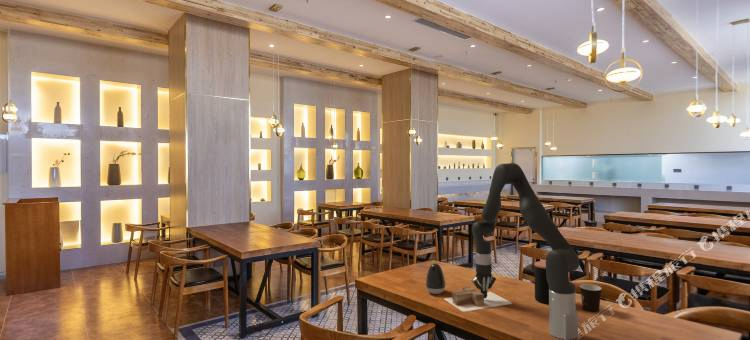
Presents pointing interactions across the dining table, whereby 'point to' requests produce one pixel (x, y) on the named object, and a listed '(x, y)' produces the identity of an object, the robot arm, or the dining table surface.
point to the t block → (468, 297)
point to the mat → (490, 301)
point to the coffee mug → (590, 297)
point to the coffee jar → (541, 283)
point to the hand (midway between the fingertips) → (484, 297)
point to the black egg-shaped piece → (435, 279)
